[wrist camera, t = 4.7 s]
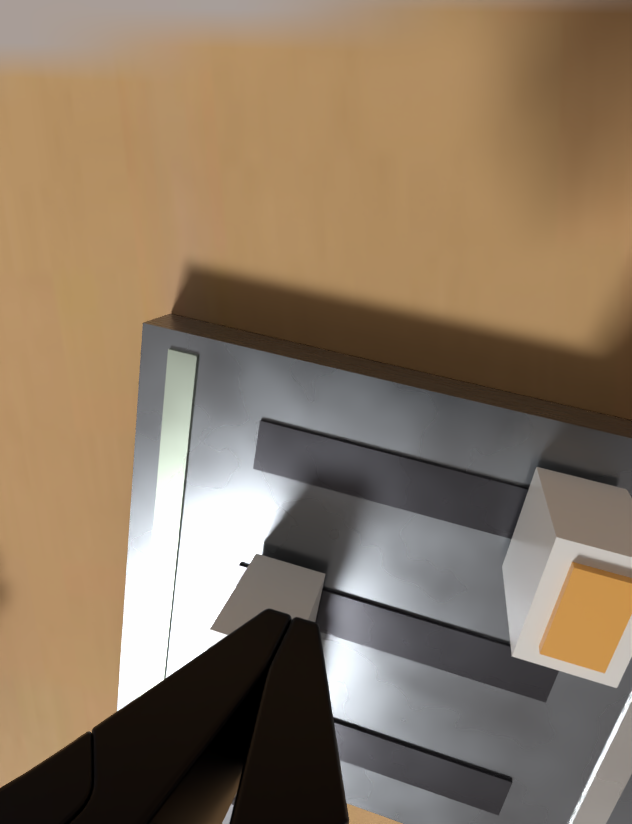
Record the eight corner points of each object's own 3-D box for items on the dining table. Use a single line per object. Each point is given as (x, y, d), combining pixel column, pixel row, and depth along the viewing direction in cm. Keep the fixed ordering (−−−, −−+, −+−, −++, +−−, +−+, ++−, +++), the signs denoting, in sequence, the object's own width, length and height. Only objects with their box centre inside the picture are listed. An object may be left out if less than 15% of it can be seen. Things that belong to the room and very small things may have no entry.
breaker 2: (626, 489, 13) (677, 575, 10) (585, 589, 14) (619, 695, 11) (536, 466, 14) (558, 543, 10) (501, 566, 15) (512, 663, 11)
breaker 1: (325, 574, 16) (291, 663, 13) (308, 653, 17) (272, 754, 14) (255, 553, 16) (205, 635, 13) (243, 632, 17) (194, 726, 14)
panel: (882, 478, 14) (933, 511, 12) (654, 867, 18) (671, 923, 17) (170, 313, 16) (141, 323, 15) (139, 687, 21) (114, 722, 20)
